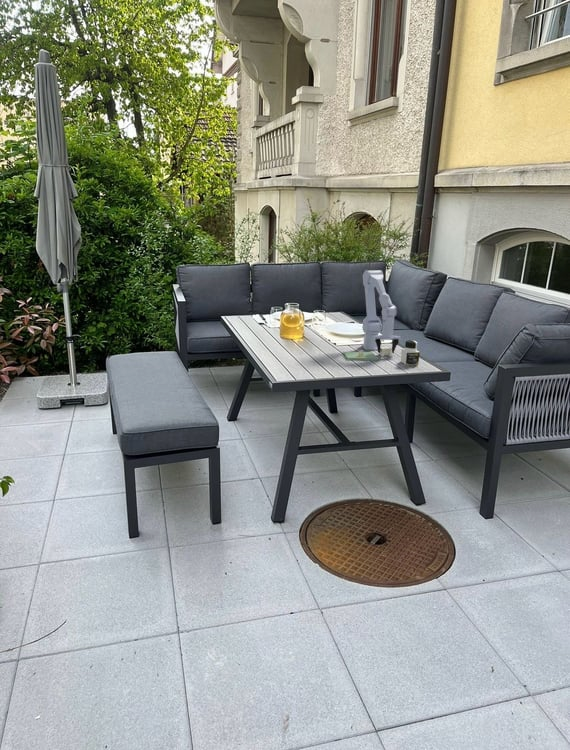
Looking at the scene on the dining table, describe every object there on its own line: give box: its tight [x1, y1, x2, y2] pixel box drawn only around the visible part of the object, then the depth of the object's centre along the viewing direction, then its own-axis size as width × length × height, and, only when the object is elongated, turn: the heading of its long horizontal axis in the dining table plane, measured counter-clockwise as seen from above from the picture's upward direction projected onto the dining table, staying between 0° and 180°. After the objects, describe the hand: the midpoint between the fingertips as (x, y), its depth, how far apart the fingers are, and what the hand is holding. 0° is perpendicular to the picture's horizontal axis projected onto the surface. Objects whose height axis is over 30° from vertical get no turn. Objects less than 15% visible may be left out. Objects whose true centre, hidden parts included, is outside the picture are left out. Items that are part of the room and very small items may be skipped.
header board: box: [342, 349, 378, 361], centre depth 304 cm, size 12×16×4 cm
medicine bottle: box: [400, 339, 421, 366], centre depth 295 cm, size 7×7×12 cm
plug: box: [379, 346, 393, 358], centre depth 309 cm, size 5×6×4 cm
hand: (385, 352), depth 309 cm, fingers open, 7 cm apart
